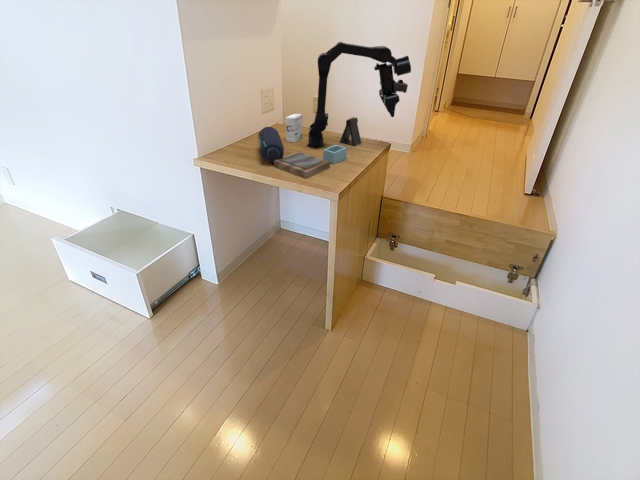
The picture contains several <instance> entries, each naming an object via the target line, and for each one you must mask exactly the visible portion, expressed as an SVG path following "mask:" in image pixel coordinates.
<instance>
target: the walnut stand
mask: <svg viewBox="0 0 640 480" xmlns="http://www.w3.org/2000/svg"><path fill="white" fill-rule="evenodd" d="M273 167H274V168H277V169H280V170H282V171H284V172H288V173H290V174H293V175H295V176H298V177H301V178H304V179H308V178H311V177H312V176H315V175H317V174H320V173H322V172H323V171H326V170H328V169H330V168H331V163H330V162H329V161H326V160H323V158H320V157H316V156H313V155H310V154H307V153H305V152H301V151H296V152H293V153H290V154H289V155H288V154H287V155H285V156H283V157H282V158H281V159H277V160H274V162H273Z"/></svg>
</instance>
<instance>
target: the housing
mask: <svg viewBox="0 0 640 480" xmlns="http://www.w3.org/2000/svg"><path fill="white" fill-rule="evenodd" d="M322 152H323V154H322V155H323V157H322V159H323V160H326V161H329V162H330V165H331V164H332V165H335V164H338V163H340V162H342V161H344V160H346V159H347V154H348V153H347V152H348V147H345V146H342V145H340V144H339V145H338V144H333V145H331V146H330V147H326V148H324V149H323V151H322Z"/></svg>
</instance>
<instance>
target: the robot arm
mask: <svg viewBox="0 0 640 480" xmlns="http://www.w3.org/2000/svg"><path fill="white" fill-rule="evenodd" d="M342 54H345V55H352V56H359V57H365V58H369V59H372V60H374V61H376V64H375V66H374V68H373V70H374V71H378V74H379V85H380V89H379V91H378V95H379V97H380V100H381V102H382V103H383V104H384V105H383V106H385V107H384V108H385V109H386V110H387V112H388V113H389V115H390V117H391V118H394V117H395V114H396V113H395V112H396V105H397V104H398V103H400V101H401V99H400V96H399V95H398V94H397V93H398V92H400V93H403V94H405V93H407V90H408V83H405V82H404V80H402V79H398V80H397V81H396V80H395V79H394V75H396V76H398V77H399V76H403V75H407V74H411V72H412V66H411V62H410V57H409V56H408V55H405V56H403V57H399V58H396V57H395V56H393V55H392V51H391V48H389V47H388V46H384V45H381V46H378V45H377V46H365V45H359V44H353V43H346V42H343V41H339V42H336V44H335V45H334V46H333V47H332V48H330V49H328V51H326V52H321V53H320V54H319V55H318V56H317V70H318V86H317V87H318V88H317V89H318V90H317V108H316V112H315V114H314V119H313V122H312V124H310V125H309V130H308V131H309V132H308V143H307V144H306V147H309V148H313V149H316V150H317V149H320V148H322V147H324V146H325V144H324V135H323V132H324V131H325V130H326V129H327V127H328V126H329V123H328V119H329V113H326V102H327V100H326V99H327V88H328V79H329V78H328V77H329V73H330V70H331V66H332V62H335V60H336V59H337V58H338V57H339V56H341V55H342ZM379 63H381V64H379ZM387 63H389V64H387Z"/></svg>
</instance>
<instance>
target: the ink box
mask: <svg viewBox="0 0 640 480" xmlns="http://www.w3.org/2000/svg"><path fill="white" fill-rule="evenodd" d="M302 139H303V114H300V113H292V114H291V115H288V116H285V141H286V142H290V143H296V142H297V141H299V140H302Z"/></svg>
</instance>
